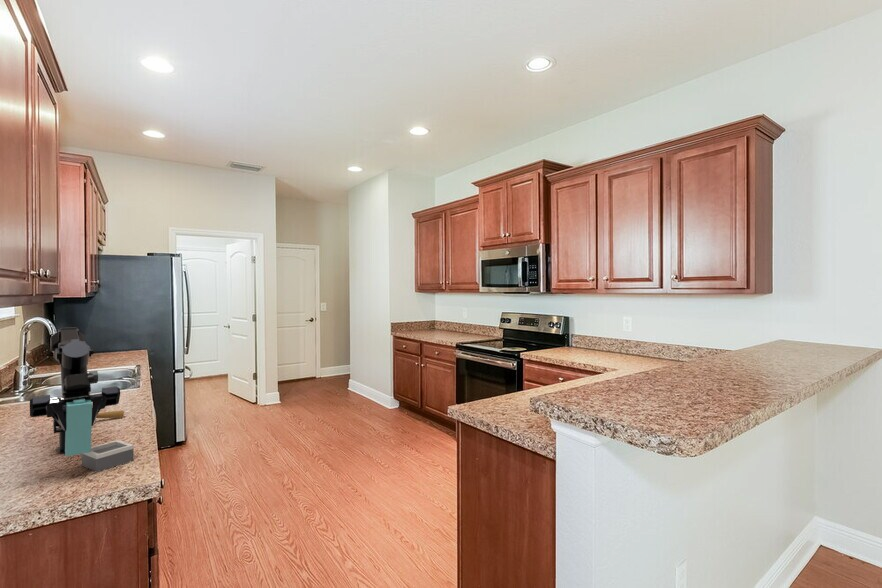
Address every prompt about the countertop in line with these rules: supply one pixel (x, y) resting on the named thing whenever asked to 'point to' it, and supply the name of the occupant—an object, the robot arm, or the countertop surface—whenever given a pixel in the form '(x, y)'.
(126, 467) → the countertop surface
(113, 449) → the tower base
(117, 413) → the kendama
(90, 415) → the tall brick
